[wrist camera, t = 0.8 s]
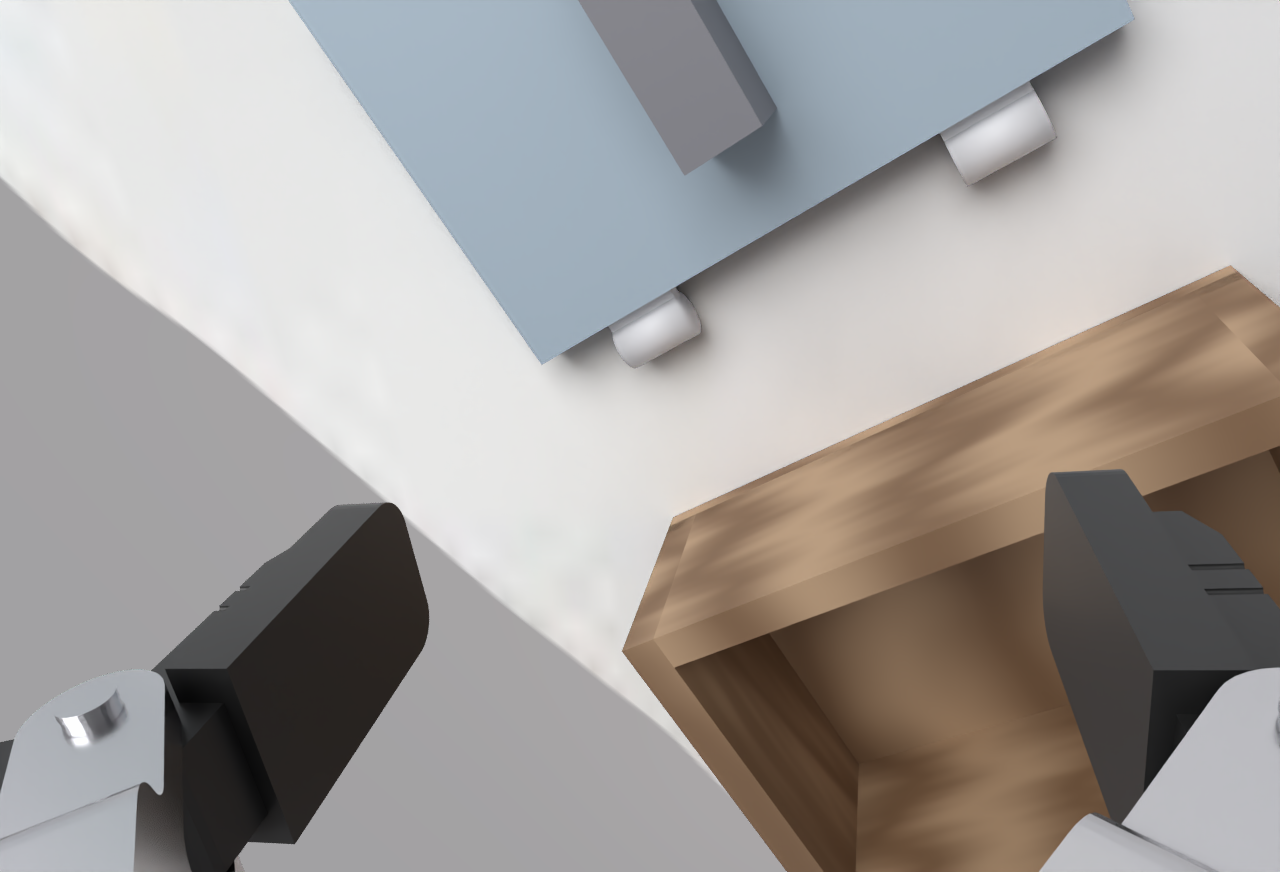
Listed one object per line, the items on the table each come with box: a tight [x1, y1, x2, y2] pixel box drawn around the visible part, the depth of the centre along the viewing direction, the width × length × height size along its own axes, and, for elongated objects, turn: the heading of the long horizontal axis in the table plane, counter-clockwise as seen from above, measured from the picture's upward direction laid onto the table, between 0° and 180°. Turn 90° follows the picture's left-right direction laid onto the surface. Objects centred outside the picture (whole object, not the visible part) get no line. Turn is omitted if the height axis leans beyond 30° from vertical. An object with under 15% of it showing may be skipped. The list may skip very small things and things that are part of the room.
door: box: [289, 0, 1134, 368], centre depth 25 cm, size 20×16×5 cm
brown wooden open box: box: [622, 265, 1280, 872], centre depth 28 cm, size 20×16×11 cm
